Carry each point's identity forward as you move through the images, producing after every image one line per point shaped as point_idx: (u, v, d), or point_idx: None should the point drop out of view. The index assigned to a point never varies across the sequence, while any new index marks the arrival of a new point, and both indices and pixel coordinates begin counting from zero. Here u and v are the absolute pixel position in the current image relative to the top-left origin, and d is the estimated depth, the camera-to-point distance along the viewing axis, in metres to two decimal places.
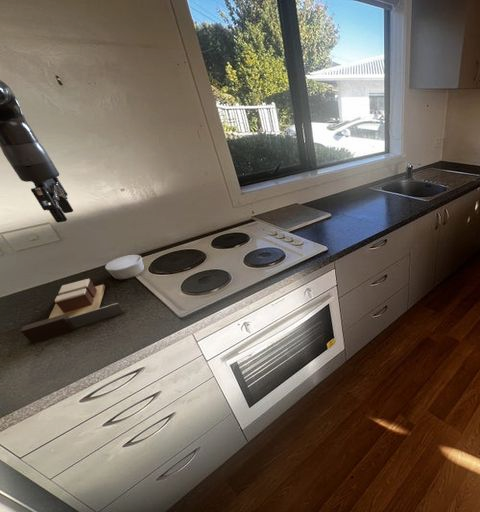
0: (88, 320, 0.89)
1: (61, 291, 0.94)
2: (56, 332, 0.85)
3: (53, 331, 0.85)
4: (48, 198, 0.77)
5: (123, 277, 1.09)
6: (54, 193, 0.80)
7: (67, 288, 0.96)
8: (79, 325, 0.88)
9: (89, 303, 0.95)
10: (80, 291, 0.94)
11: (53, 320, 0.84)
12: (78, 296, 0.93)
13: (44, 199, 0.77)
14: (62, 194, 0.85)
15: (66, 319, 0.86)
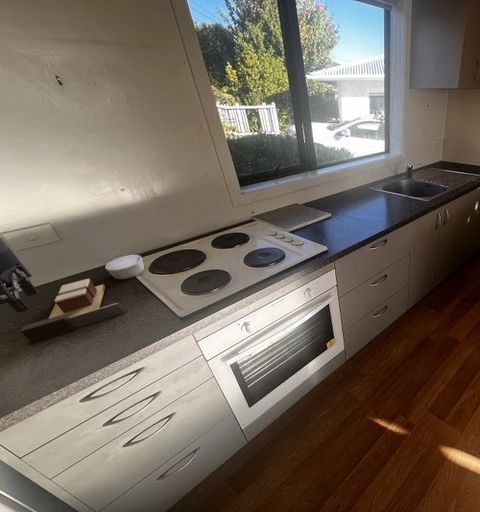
0: (88, 320, 0.89)
1: (61, 291, 0.94)
2: (56, 332, 0.85)
3: (53, 331, 0.85)
4: (4, 292, 0.72)
5: (123, 277, 1.09)
6: (13, 283, 0.74)
7: (67, 288, 0.96)
8: (79, 325, 0.88)
9: (89, 303, 0.95)
10: (80, 291, 0.94)
11: (53, 320, 0.84)
12: (78, 296, 0.93)
13: (0, 294, 0.71)
14: (24, 278, 0.80)
15: (66, 319, 0.86)
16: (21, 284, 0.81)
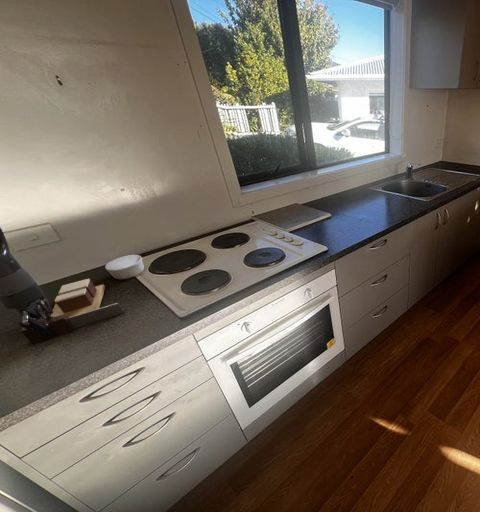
0: (88, 320, 0.89)
1: (61, 291, 0.94)
2: (56, 332, 0.85)
3: None
4: (37, 325, 0.79)
5: (123, 277, 1.09)
6: (40, 314, 0.81)
7: (67, 288, 0.96)
8: (79, 325, 0.88)
9: (89, 303, 0.95)
10: (80, 291, 0.94)
11: (53, 320, 0.84)
12: (78, 296, 0.93)
13: (33, 327, 0.78)
14: (46, 312, 0.84)
15: (66, 319, 0.86)
16: None
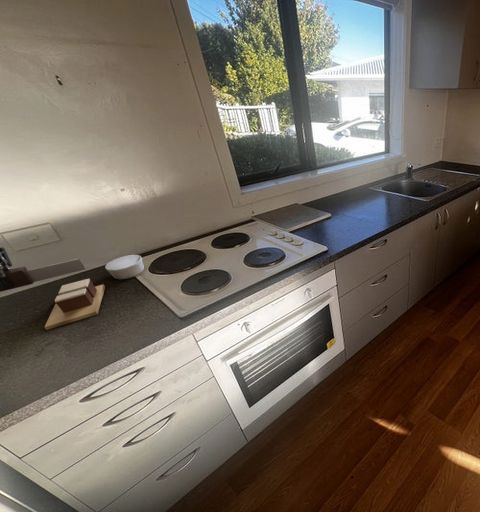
0: (48, 274, 0.89)
1: (61, 291, 0.94)
2: (14, 284, 0.85)
3: None
4: None
5: (123, 277, 1.09)
6: None
7: (67, 288, 0.96)
8: (38, 279, 0.88)
9: (89, 303, 0.95)
10: (80, 291, 0.94)
11: (10, 271, 0.83)
12: (78, 296, 0.93)
13: None
14: (4, 264, 0.83)
15: (24, 271, 0.85)
16: None
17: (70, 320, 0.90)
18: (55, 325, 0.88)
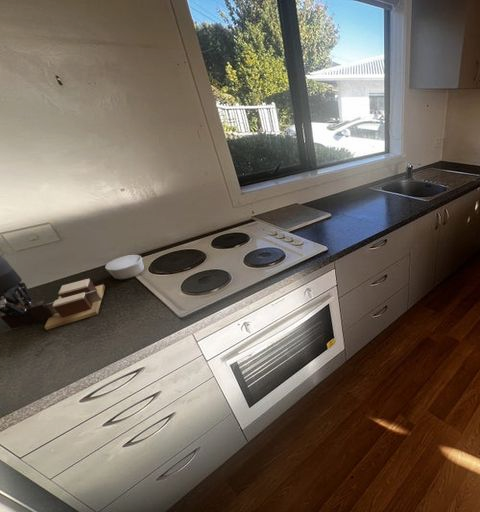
0: None
1: (61, 291, 0.94)
2: (35, 318, 0.88)
3: None
4: (15, 310, 0.82)
5: (123, 277, 1.09)
6: (19, 300, 0.84)
7: (67, 288, 0.96)
8: (57, 312, 0.92)
9: (88, 307, 0.93)
10: (79, 295, 0.92)
11: (31, 306, 0.87)
12: (77, 300, 0.91)
13: (11, 312, 0.82)
14: (25, 299, 0.87)
15: (44, 305, 0.89)
16: None
17: (70, 320, 0.90)
18: (55, 325, 0.88)
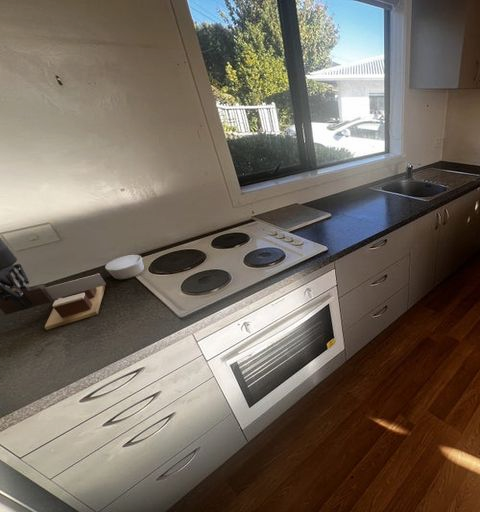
0: (67, 291, 0.83)
1: None
2: (32, 303, 0.80)
3: None
4: (9, 293, 0.73)
5: (123, 277, 1.09)
6: (14, 282, 0.75)
7: None
8: (57, 297, 0.83)
9: (88, 308, 0.93)
10: (78, 295, 0.92)
11: (28, 290, 0.78)
12: (76, 301, 0.91)
13: (5, 295, 0.73)
14: (21, 281, 0.78)
15: (43, 289, 0.80)
16: None
17: (70, 320, 0.90)
18: (55, 325, 0.88)
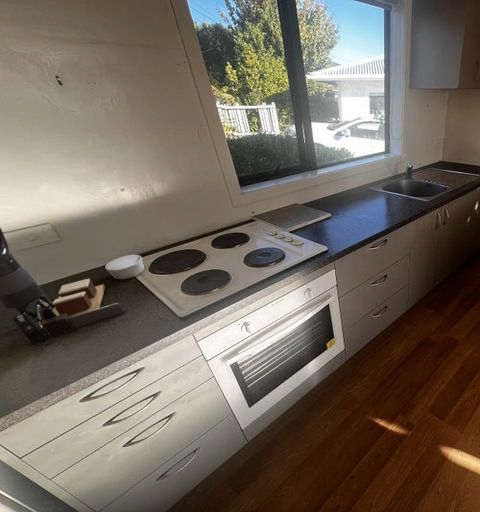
0: (88, 319, 0.89)
1: (61, 291, 0.94)
2: (57, 332, 0.85)
3: (54, 331, 0.85)
4: (31, 323, 0.77)
5: (123, 277, 1.09)
6: (37, 314, 0.80)
7: (67, 288, 0.96)
8: (79, 325, 0.88)
9: (87, 306, 0.93)
10: (79, 294, 0.92)
11: (53, 320, 0.84)
12: (76, 298, 0.91)
13: (26, 325, 0.76)
14: (47, 307, 0.85)
15: (67, 319, 0.86)
16: (43, 313, 0.86)
17: None
18: None
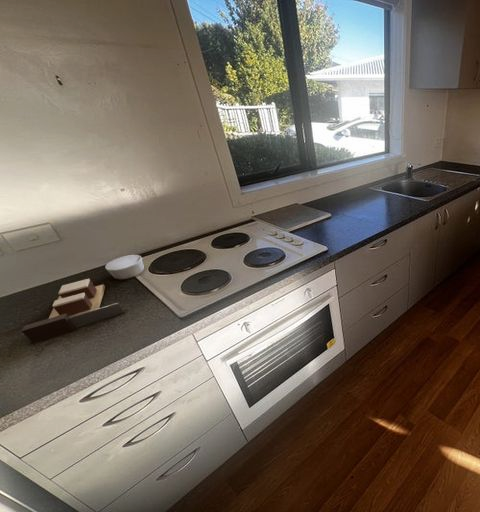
0: (88, 319, 0.89)
1: (61, 291, 0.94)
2: (57, 332, 0.85)
3: (54, 331, 0.85)
4: None
5: (123, 277, 1.09)
6: None
7: (67, 288, 0.96)
8: (79, 325, 0.88)
9: (88, 308, 0.93)
10: (78, 295, 0.92)
11: (53, 320, 0.84)
12: (76, 301, 0.91)
13: None
14: None
15: (67, 319, 0.86)
16: None
17: None
18: None
